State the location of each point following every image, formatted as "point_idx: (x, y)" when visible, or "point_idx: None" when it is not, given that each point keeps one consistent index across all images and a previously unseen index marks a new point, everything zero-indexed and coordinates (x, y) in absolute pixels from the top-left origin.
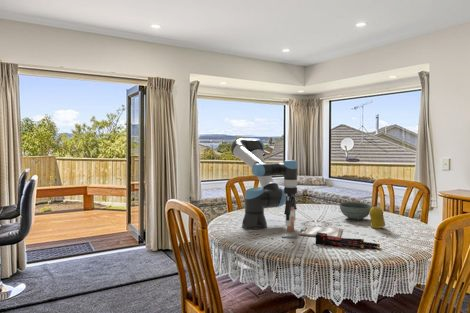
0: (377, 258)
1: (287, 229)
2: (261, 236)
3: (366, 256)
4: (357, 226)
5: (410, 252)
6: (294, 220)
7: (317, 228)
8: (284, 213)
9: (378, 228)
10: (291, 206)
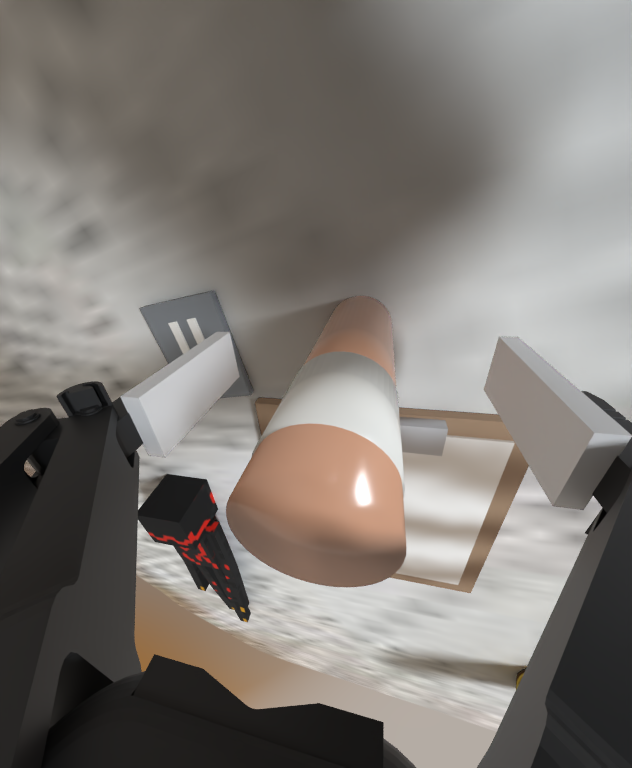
0: (161, 582)
1: (336, 308)
2: (52, 103)
3: (158, 569)
4: None
5: (252, 636)
6: (486, 384)
7: (439, 502)
8: (69, 396)
9: (517, 676)
10: (388, 557)
